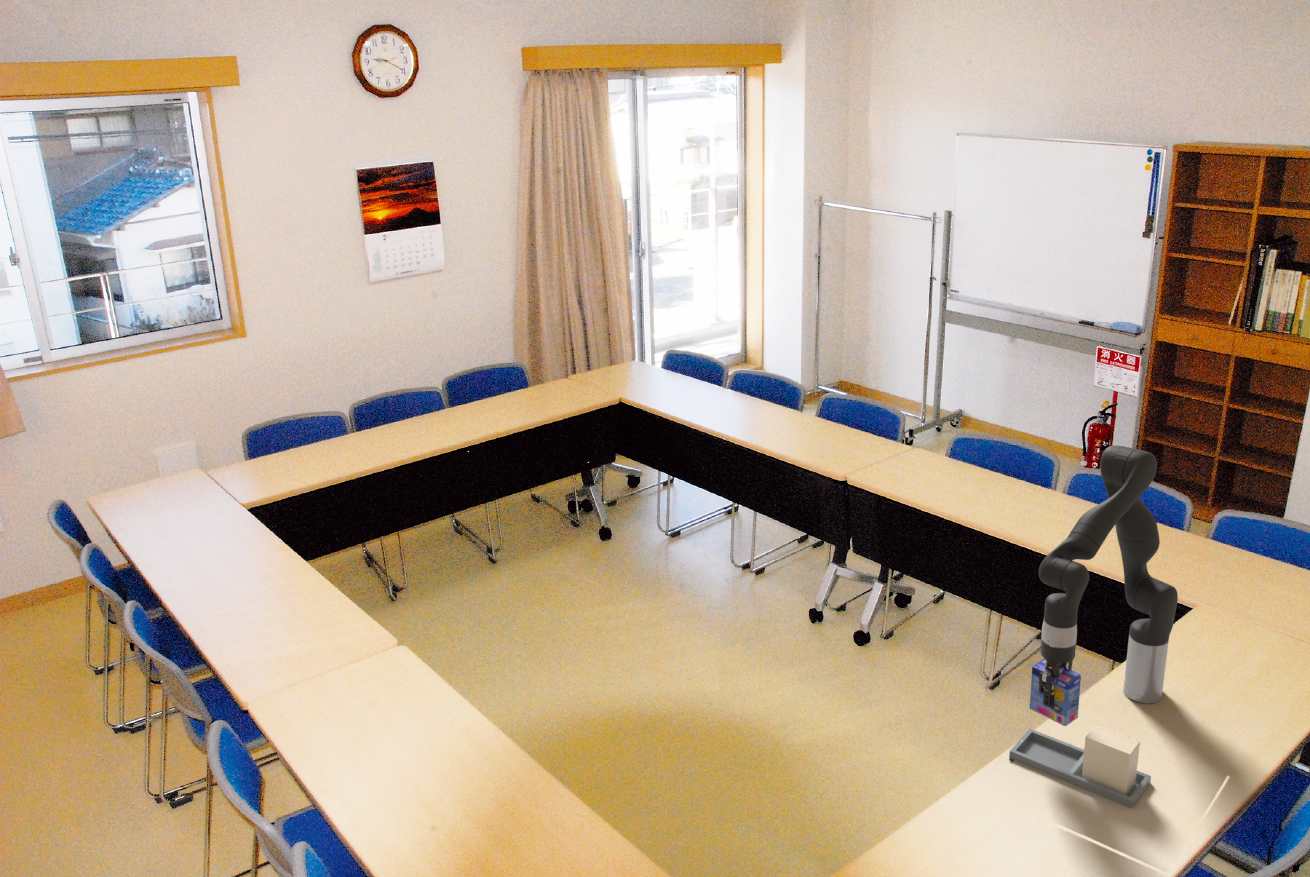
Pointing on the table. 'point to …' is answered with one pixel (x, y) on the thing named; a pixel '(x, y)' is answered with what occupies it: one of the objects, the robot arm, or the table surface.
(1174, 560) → the table surface
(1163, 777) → the table surface
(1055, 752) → the tray
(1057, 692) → the ink cartridge box
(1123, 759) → the beige box
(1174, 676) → the table surface
